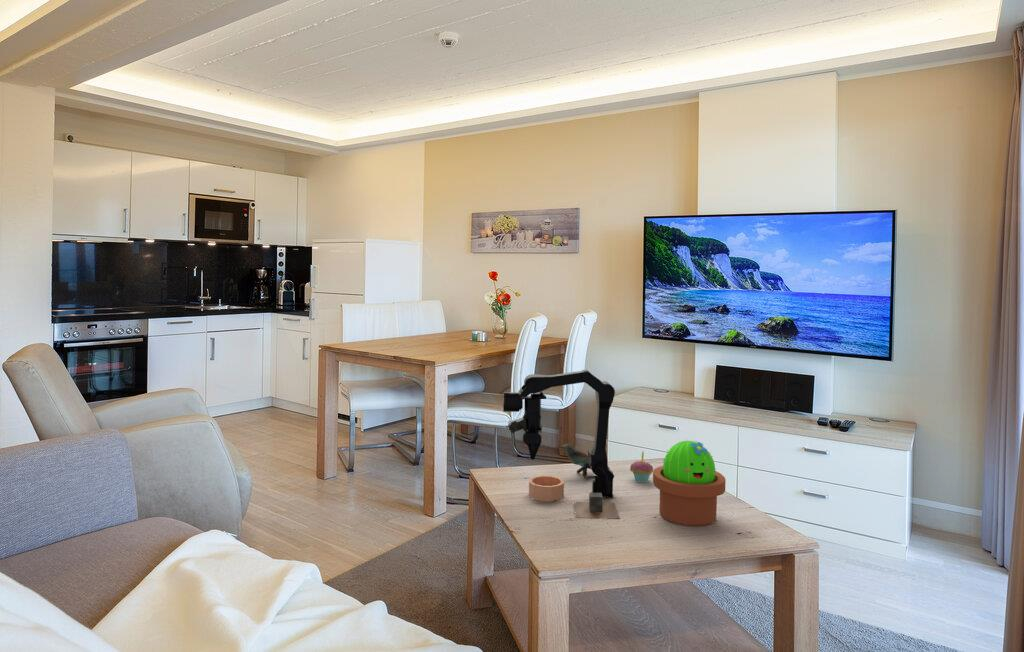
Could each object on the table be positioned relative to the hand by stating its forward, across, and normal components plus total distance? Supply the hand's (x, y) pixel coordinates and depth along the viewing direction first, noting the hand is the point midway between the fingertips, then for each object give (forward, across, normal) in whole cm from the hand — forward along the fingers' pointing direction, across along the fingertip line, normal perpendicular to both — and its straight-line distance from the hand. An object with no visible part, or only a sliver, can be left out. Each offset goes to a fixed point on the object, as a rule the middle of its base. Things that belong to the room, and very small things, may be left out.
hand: (532, 455), depth 218 cm
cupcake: (+15, -19, +40) cm, 47 cm away
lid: (+15, +13, +21) cm, 29 cm away
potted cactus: (+15, +16, +50) cm, 54 cm away
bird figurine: (+15, -24, +20) cm, 34 cm away
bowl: (+14, 0, +5) cm, 15 cm away
